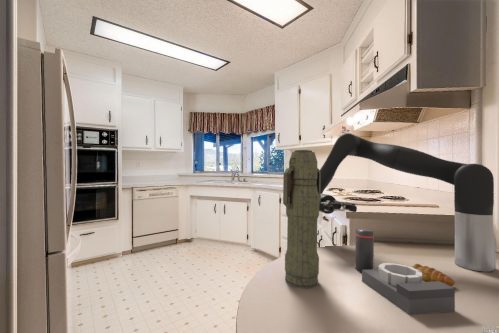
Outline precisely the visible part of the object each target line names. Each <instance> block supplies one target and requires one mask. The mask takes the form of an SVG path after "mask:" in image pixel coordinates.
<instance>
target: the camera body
mask: <svg viewBox="0 0 499 333" xmlns="http://www.w3.org/2000/svg"><path fill="white" fill-rule="evenodd" d="M412 267H413V266H408V265H406V264H400V263H393V262H385V263H384V262H383V263H380V264H379V265H378V268H377V269H376V268H375V269H371V270H362V273H361V282H363V283H364V284H365V285H367V286H368V287H370V288H371V289H373V291H375V292H377V293H378V294H380V295H381V296H382V297H384V298H385V299H387V300H388V301H389V302H391V303H392V304H393V305H394V306H397V307H398V308H399V309H401V310H402V311H403V312H405V313H406V314H407V315H419V314H420V315H423V314H424V315H425V314H434V313H435V314H436V313H448V312H449V313H450V312H455V311H456V306H455V304H456V299H455V298H456V295H455V294H456V291H455V290H456V289H455V288H454V287H451V286H449V285H447V284H444V283H442V282H440V281H435V282H424V281H422V272H421V271H419V270H417V269H415V268H412Z"/></svg>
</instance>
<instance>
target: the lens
mask: <svg viewBox="0 0 499 333" xmlns="http://www.w3.org/2000/svg"><path fill="white" fill-rule="evenodd" d="M354 234H355V248H354V249H355V252H354V253H355V256H354V257H355V267H354V268H355V271H357V272H359V273H361V274H362V270H371V269H374V268H375V267H374V266H375V265H374V264H375V262H374V259H375V258H374V257H375V255H374V253H375V251H374V247H375V243H374V242H375V240H374V238H375V235H374V234H375V232H374V230H373V229H367V228H356V229H355V233H354Z"/></svg>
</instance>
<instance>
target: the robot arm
mask: <svg viewBox="0 0 499 333" xmlns="http://www.w3.org/2000/svg"><path fill="white" fill-rule="evenodd" d="M348 156H349V157H350V156H351V157H359V158H363V159H368V160H371V161H372V162H375V163H378V164H380V165H382V166H384V167H387V168H390V169H392V170H394V171H395V170H396V171H398V172H403V173H406V174H411V175H415V176H420V177H426V178H431V179H436V180H438V181H442V182H445V183H447V184H450V185H453V186H454V188H453V191H454V199H453V203H454V205H453V206H454V263H455V265H457V266H459V267H462V268H465V269H467V270H472V271H478V272H486V273H491V272H494V270H496V269H497V266H496V265H497V260H496V259H497V258H496V257H497V256H496V246H497V244H496V239H495V237H494V205H495V202H494V201H495V200H494V198H495V195H494V194H495V193H494V192H495V191H494V190H495V184H494V182H495V180H494V175H493V173H492V171H491V170H490V169H489V168H488V167H487V166H485V165H483V164H481V163H480V164H479V163H463V162H456V161H452V160H448V159H447V160H446V159H442V158H439V157H437V156H435V155H434V156H433V155H432V154H429V153H427V152H423V151H420V150H417V149H414V148H411V147H410V148H409V147H406V146H403V145H402V146H401V145H396V144H391V143H390V144H389V143H379V142H375V141H374V142H373V141H370V140H367V139H364V138H362V137H360V136H358V135H355V134H352V133H349V132H346V133H342V134H340V135H339V136H338V137H337V139H336V141H335V142H334V145H333V146H332V148H331V151H330V153H329V154H328V156H327V158H326V160H325V161H324V163H323V164H322V166H321V167H320V169H319V170H320V173H321V199H320V205H319V213H323V214H325V215H326V214H327V215H330V214H333V213H334V212H346V211H348V212H353V213H357V210H358V208H357V205H356V203H352V202H347V201H339V200H337V199H336V197H334V196H333V195H331V194H325V193H324V191H325V190H326V188H327V187H328V185H330V183H331V182H332V180H333V179H334V176H335V174H336V172H337V170H338V168H339V167H340V165H341V163H342V162H343V161H344V160H345V159H346V158H347V157H348Z"/></svg>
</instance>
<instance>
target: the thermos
mask: <svg viewBox="0 0 499 333" xmlns="http://www.w3.org/2000/svg"><path fill="white" fill-rule="evenodd" d="M282 184H283V186H282V187H283V188H282V190H283V191H282V192H283V194H282V204H283V205H284V206H285V214H286V217H287V228H286V230H287V232H286V233H287V234H286V235H287V237H286V238H287V239H286V240H287V242H286V251H285V253H284V270H285V271H284V272H285V277H284V278H285V280H284V281H285V282H286V283H287V284H289V285H290V286H292V287H295V288H301V289H311V288H315V287H317V286H318V285H319V277H318V276H319V274H320V271H319V270H320V256H319V253H318V219H319V216H320V211H319V205H320V199H321V173H320V169H319V168H318V160H317V156H316V152H315V151H313V150H310V149H298V150H294V151H293V152H291V155H290V157H289V161H288V167H287V168H286V169H285V170H284V172H283V182H282Z"/></svg>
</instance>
